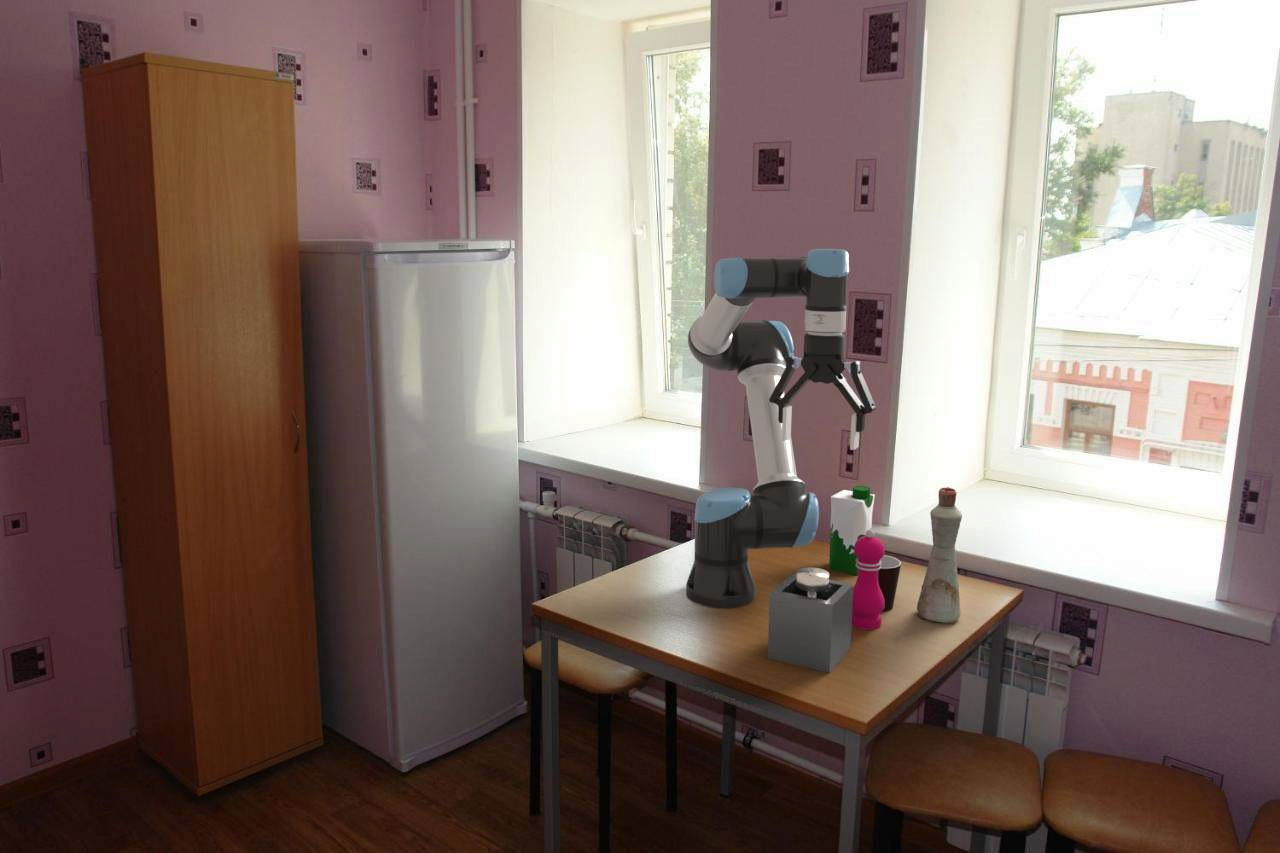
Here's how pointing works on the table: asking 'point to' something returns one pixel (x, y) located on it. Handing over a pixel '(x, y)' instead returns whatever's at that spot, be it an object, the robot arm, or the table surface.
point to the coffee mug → (889, 579)
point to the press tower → (810, 624)
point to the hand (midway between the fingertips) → (819, 444)
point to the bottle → (942, 563)
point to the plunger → (812, 580)
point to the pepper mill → (868, 583)
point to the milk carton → (849, 526)
